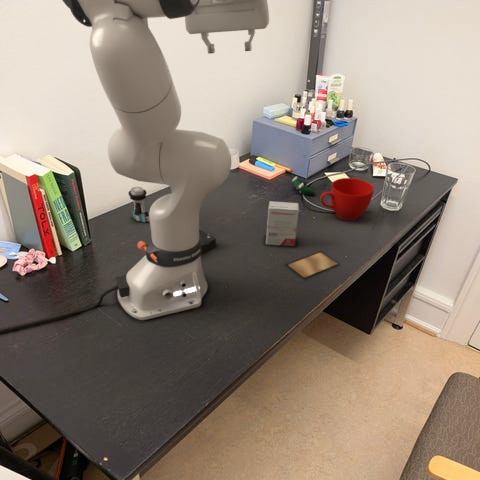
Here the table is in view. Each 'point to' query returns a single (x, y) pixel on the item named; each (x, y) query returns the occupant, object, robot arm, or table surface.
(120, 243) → the table surface
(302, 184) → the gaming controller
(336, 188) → the ceramic cup
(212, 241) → the disk drive
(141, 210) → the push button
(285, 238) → the ink box
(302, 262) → the gold rectangular plate
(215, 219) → the table surface
